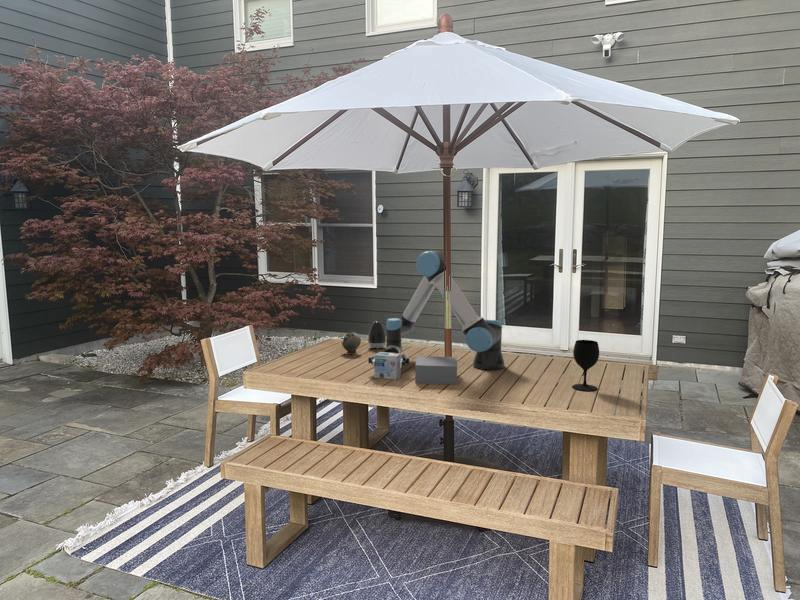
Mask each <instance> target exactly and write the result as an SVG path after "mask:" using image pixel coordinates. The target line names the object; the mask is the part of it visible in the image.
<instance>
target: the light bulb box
mask: <svg viewBox="0 0 800 600" xmlns="http://www.w3.org/2000/svg"><path fill="white" fill-rule="evenodd" d="M374 355H375V367H374V376H373V377H374V378H375V379H383V380H384V379H385V380H393V381H394V380H395V381H397V380H398V379H399V378H400V377H401V376H402V375H401V374H402V368H400V360H401V355H402V352H401V353H387V352H384V351H379V352H376V353H375V354H374Z"/></svg>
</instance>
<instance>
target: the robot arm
mask: <svg viewBox="0 0 800 600" xmlns="http://www.w3.org/2000/svg"><path fill="white" fill-rule="evenodd" d="M444 253H445V251H443V250H438V249H437V250H427V251H424V252H422V253H421V254H420V255H419V256H418V257H417V259H416V263H415V264H416V266H415V267H416V270H417V272H418V273H419V274H420V275H421V276H423V278H422V279H421V281H420V283H419V285H418V286H417V288H416V290H415V292H414V293H413V295H412V297H411V299H410V301H409V302H408V304H407V305H406V308H405V309H404V311H403V313H402V315H401V317H400V318H396V317H392V318H387V320H386V325H385V329H386V331H385V335H386V342H385V350H384V351H383V352H387V353H401V360H400V368H401V369H402V367H403V366H405V365H410V358H409V357H408V356H406V354H405V353H404V354H402V351H403V346H402V336H403V335H406V334H409V333H411V332H412V331H413V330H414V328H415V323H416V321H417V320H418V318H419V316H420V314H421V312H422V311H423V309H424V307H425V305H426V303H427V302H428V300H429V298H430V297H431V295H432V293H433V292H434V290H435V288H436V289H437V290H438V292H439V293H440V294H441V296H442V298H443V299H444ZM450 276H451V275H450ZM450 276H449V294H450V303H451V308H450V309H451V311H452V313H453V314H454V316H455V317H456V318H457V320H458V322H459V323H460V325H461V326H462V330H461V331H462V333H463V335H464V336H465V342H466V344H467V347H468V348H469V349H470V350H471V351H474V352H476V353H475V356H474V358H473V361H472V362H473V363H472V366H473V367H474V368H476V369H481V370H487V371H490V370H491V371H492V370H493V371H494V370H502V369H504V368H505V360H504V357H503V356H504V355H503V354H502V337H503V335H502V331H503V325H502V321H501V320H495V319H484V317H483V316H479V315H478V314H477V313H476V311H475V310H474V308H473V307H472V305H471V304H470V301H468V299H467V298H466V296H465V294H464V293H463V292H462V290H461V289H460V288H459V286H458V285H457V283H456V281H455V280H454V278H453V276H451V292H450ZM448 298H449V297H448V286H447V300H448ZM445 300H446V262H445V299H444V301H445ZM367 359H368V364H371V365H372V368H375V354H374V355H371V356H369V357H368V358H367Z"/></svg>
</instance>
